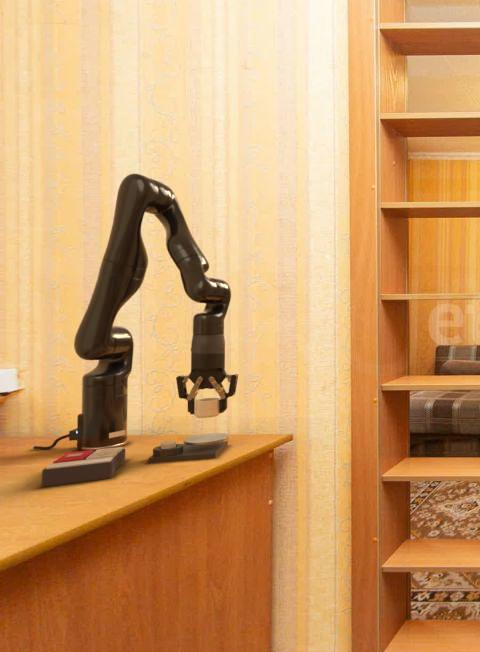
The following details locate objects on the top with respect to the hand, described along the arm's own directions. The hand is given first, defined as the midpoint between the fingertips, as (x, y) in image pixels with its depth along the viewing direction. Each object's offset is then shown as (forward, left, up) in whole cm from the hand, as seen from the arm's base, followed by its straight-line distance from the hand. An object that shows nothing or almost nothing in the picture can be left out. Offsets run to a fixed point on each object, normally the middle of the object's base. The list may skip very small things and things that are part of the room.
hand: (207, 412), depth 118 cm
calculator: (-20, -12, -10) cm, 26 cm away
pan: (0, 0, -7) cm, 7 cm away
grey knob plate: (-3, -2, -10) cm, 11 cm away
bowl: (0, 0, -1) cm, 1 cm away
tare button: (-7, -5, -8) cm, 12 cm away
